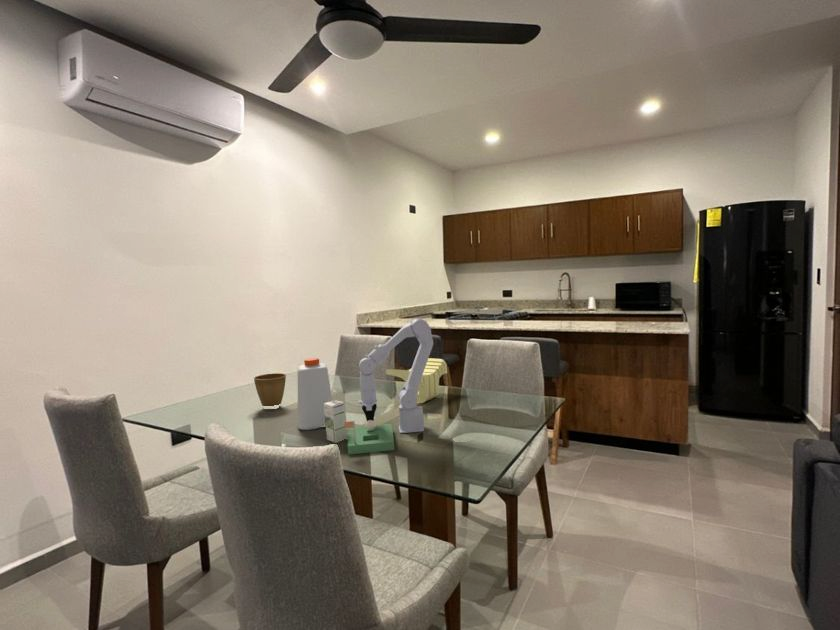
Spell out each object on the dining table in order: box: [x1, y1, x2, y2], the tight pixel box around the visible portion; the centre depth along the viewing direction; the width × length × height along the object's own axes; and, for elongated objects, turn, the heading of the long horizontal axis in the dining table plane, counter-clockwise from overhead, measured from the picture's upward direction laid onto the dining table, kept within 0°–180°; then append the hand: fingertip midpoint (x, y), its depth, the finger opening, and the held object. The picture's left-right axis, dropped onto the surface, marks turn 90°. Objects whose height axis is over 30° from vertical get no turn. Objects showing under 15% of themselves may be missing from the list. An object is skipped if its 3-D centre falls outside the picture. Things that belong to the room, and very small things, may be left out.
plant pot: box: [253, 372, 287, 407], centre depth 218 cm, size 15×15×16 cm
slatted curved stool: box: [385, 357, 448, 404], centre depth 219 cm, size 30×16×18 cm, turn 147°
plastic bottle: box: [297, 357, 333, 431], centre depth 188 cm, size 15×15×28 cm
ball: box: [364, 420, 377, 431], centre depth 168 cm, size 4×4×4 cm
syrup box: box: [324, 400, 348, 444], centre depth 168 cm, size 6×6×14 cm
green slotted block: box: [344, 420, 396, 456], centre depth 163 cm, size 17×20×11 cm
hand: (370, 423), depth 173 cm, fingers closed
